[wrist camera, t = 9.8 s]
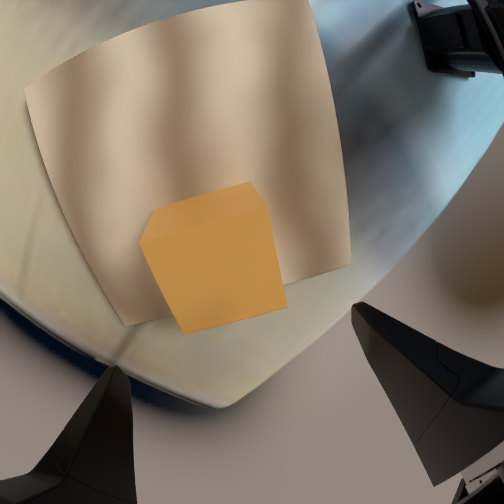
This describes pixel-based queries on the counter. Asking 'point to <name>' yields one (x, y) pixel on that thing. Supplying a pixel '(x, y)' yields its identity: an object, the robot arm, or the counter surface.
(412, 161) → the counter surface
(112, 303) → the birch board
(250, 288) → the amber foam cube
